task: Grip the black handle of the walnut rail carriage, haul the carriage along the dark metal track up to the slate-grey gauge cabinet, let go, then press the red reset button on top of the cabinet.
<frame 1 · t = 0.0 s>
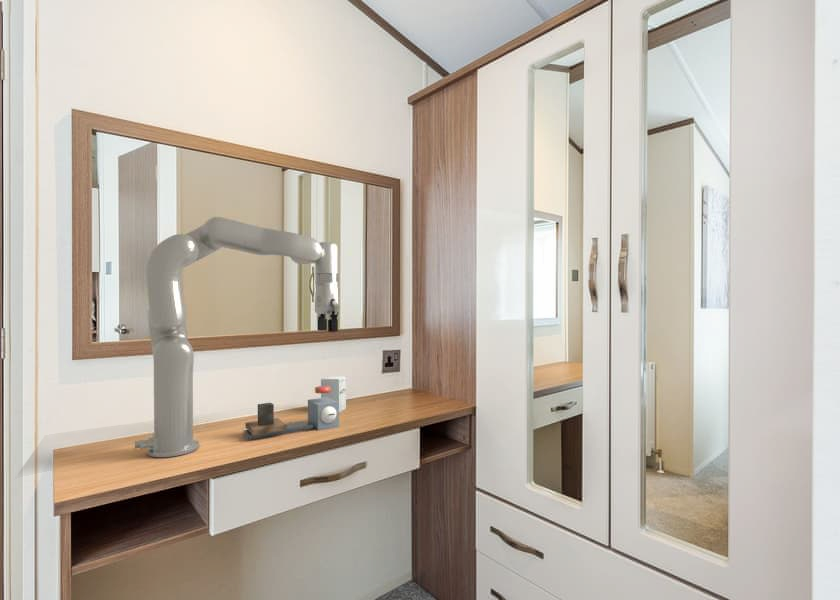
hand: (327, 331, 149), 31 cm above the table, fingers open, 9 cm apart
track: (278, 432, 140), on the table
gauge cabinet: (323, 425, 148), on the table
carriage: (265, 416, 138), point 6 cm above the table, slide at 0.0 cm
supplement box: (333, 411, 168), on the table
reset button: (322, 389, 148), point 12 cm above the table, slide at 2.5 cm
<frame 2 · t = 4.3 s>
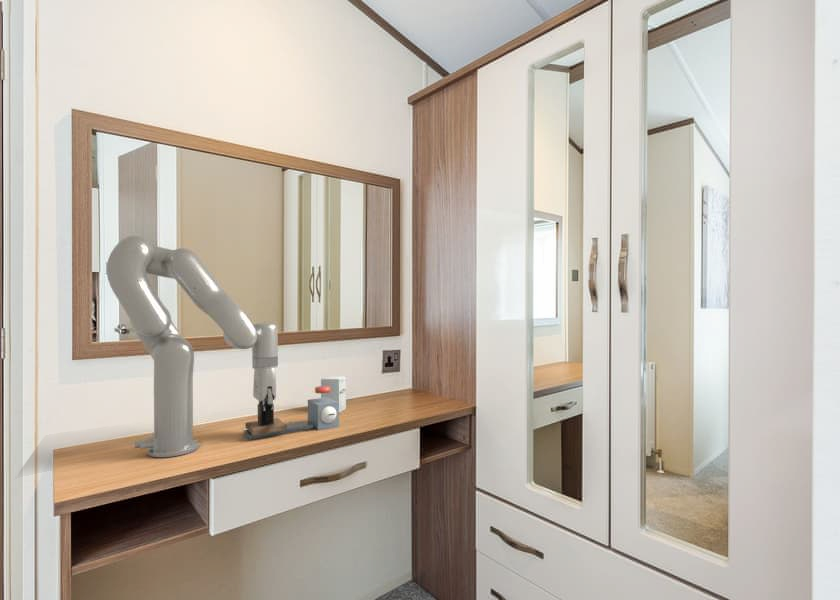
hand: (265, 421, 138), 4 cm above the table, fingers closed on carriage, 3 cm apart
carriage: (265, 416, 138), point 6 cm above the table, slide at 0.0 cm, touching gripper
everything else where it was.
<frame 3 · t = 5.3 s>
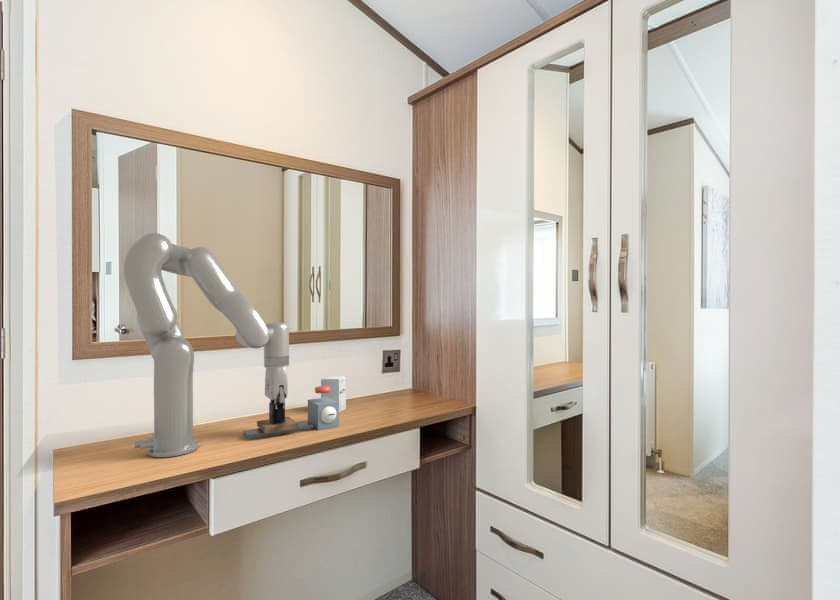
hand: (277, 419, 140), 4 cm above the table, fingers closed on carriage, 3 cm apart
carriage: (277, 414, 140), point 6 cm above the table, slide at 3.5 cm, touching gripper
everything else where it was.
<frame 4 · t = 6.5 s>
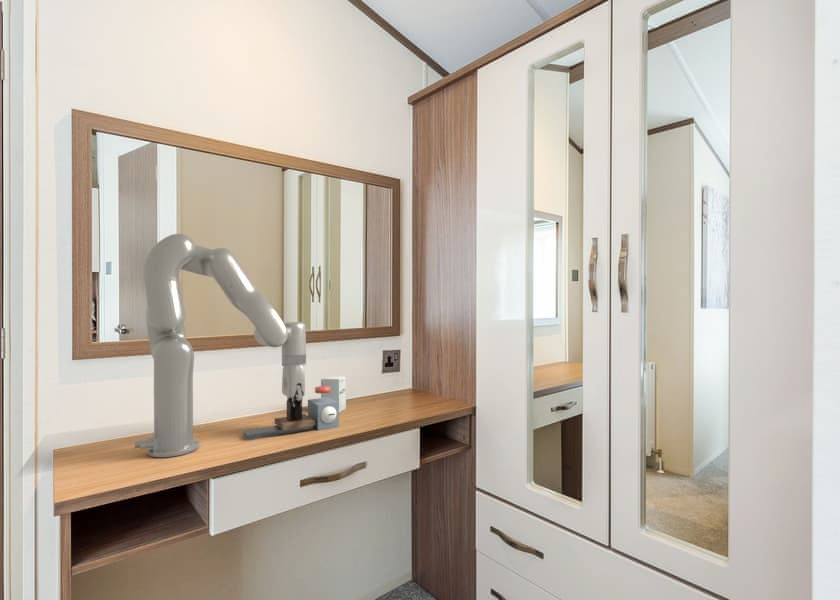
hand: (294, 417, 143), 4 cm above the table, fingers closed on carriage, 3 cm apart
carriage: (294, 412, 143), point 6 cm above the table, slide at 9.0 cm, touching gripper
everything else where it was.
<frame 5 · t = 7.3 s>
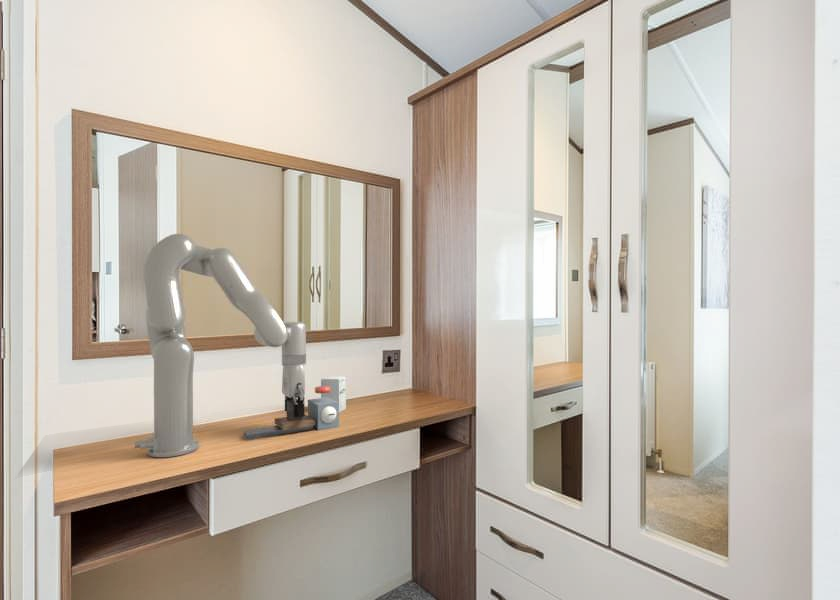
hand: (294, 413, 143), 5 cm above the table, fingers open, 9 cm apart
carriage: (294, 412, 143), point 6 cm above the table, slide at 9.0 cm
everything else where it was.
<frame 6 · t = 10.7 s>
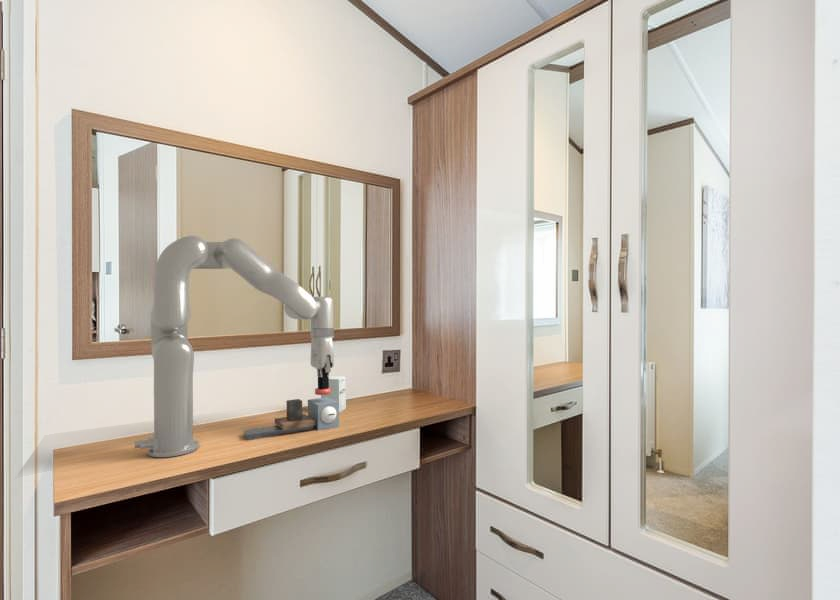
hand: (323, 388, 149), 12 cm above the table, fingers closed
reset button: (322, 391, 148), point 11 cm above the table, slide at 2.0 cm, touching gripper
everything else where it was.
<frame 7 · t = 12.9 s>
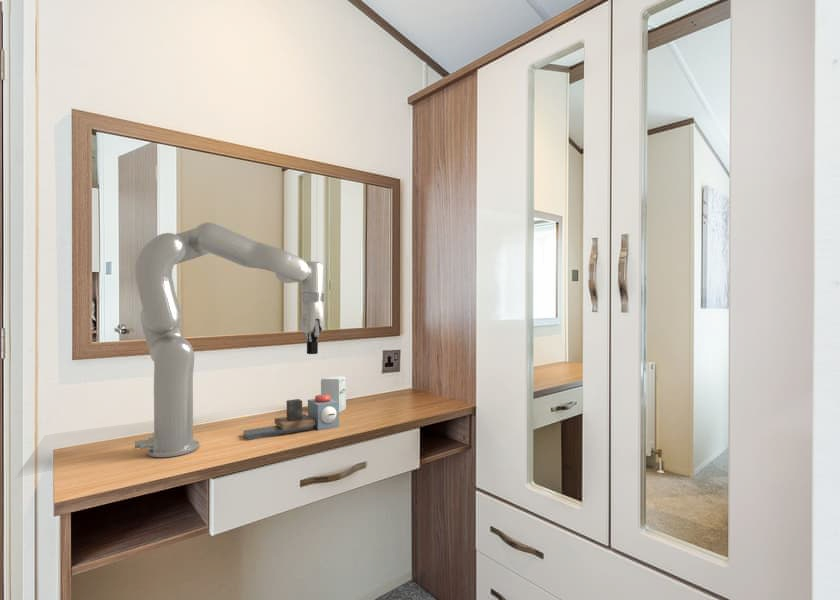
hand: (312, 353, 149), 24 cm above the table, fingers closed
reset button: (322, 398, 148), point 9 cm above the table, slide at -0.4 cm
everything else where it was.
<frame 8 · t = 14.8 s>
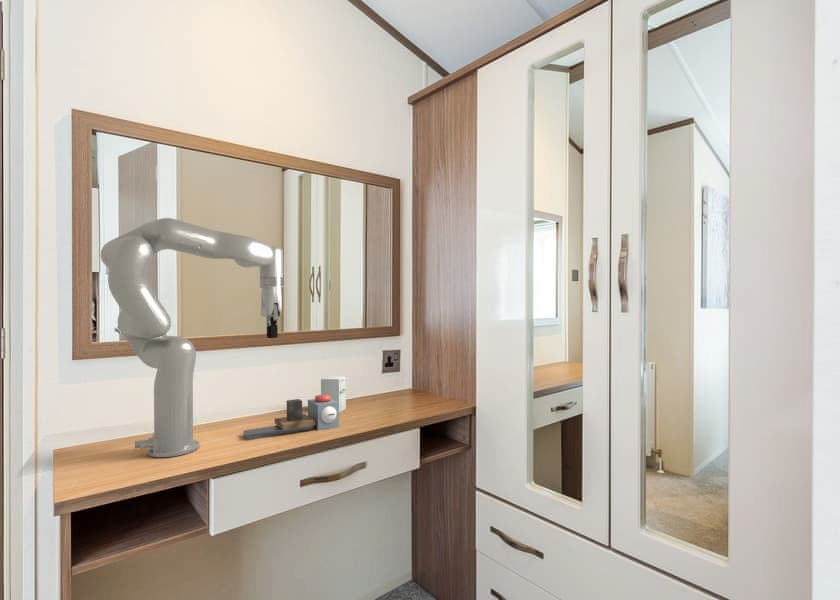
hand: (272, 337, 151), 29 cm above the table, fingers closed
nothing on the table moved.
at the end: carriage slide at 9.0 cm; the gripper is holding nothing; reset button slide at -0.4 cm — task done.
